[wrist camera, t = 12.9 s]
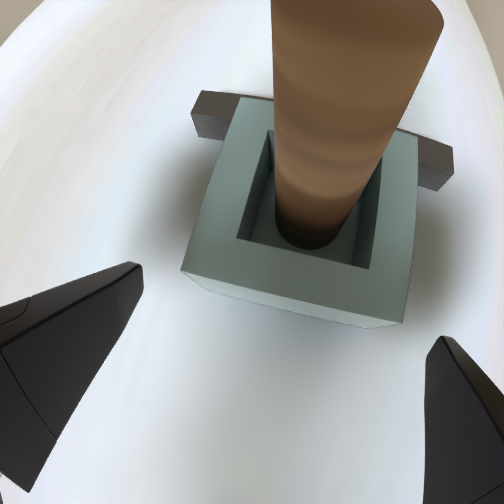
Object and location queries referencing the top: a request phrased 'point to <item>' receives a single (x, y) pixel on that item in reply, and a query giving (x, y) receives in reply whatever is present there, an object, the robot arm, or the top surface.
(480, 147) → the top surface
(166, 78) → the top surface
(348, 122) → the dowel
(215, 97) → the backstop bar
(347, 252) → the socket block
